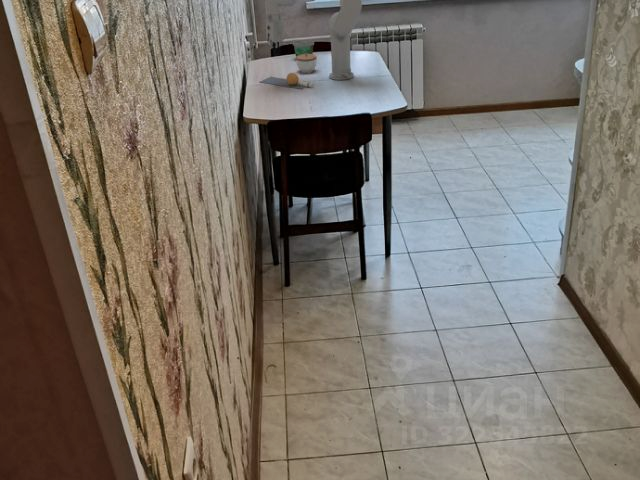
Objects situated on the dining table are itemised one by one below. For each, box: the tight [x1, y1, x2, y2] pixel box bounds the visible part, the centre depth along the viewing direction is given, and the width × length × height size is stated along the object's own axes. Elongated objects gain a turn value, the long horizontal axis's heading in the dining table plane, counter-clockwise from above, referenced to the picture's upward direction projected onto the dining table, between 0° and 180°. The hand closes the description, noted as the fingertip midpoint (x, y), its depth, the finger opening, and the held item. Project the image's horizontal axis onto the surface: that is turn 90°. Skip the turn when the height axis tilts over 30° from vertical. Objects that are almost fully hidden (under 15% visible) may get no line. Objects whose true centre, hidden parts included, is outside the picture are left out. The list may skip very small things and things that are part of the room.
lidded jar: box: [295, 53, 318, 74], centre depth 349 cm, size 11×11×9 cm
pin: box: [297, 80, 314, 88], centre depth 328 cm, size 2×2×8 cm
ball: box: [285, 72, 299, 85], centre depth 329 cm, size 6×6×6 cm
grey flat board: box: [259, 76, 306, 90], centre depth 334 cm, size 26×10×1 cm, turn 56°
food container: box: [292, 40, 315, 58], centre depth 368 cm, size 12×6×10 cm, turn 73°
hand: (276, 55), depth 330 cm, fingers closed
